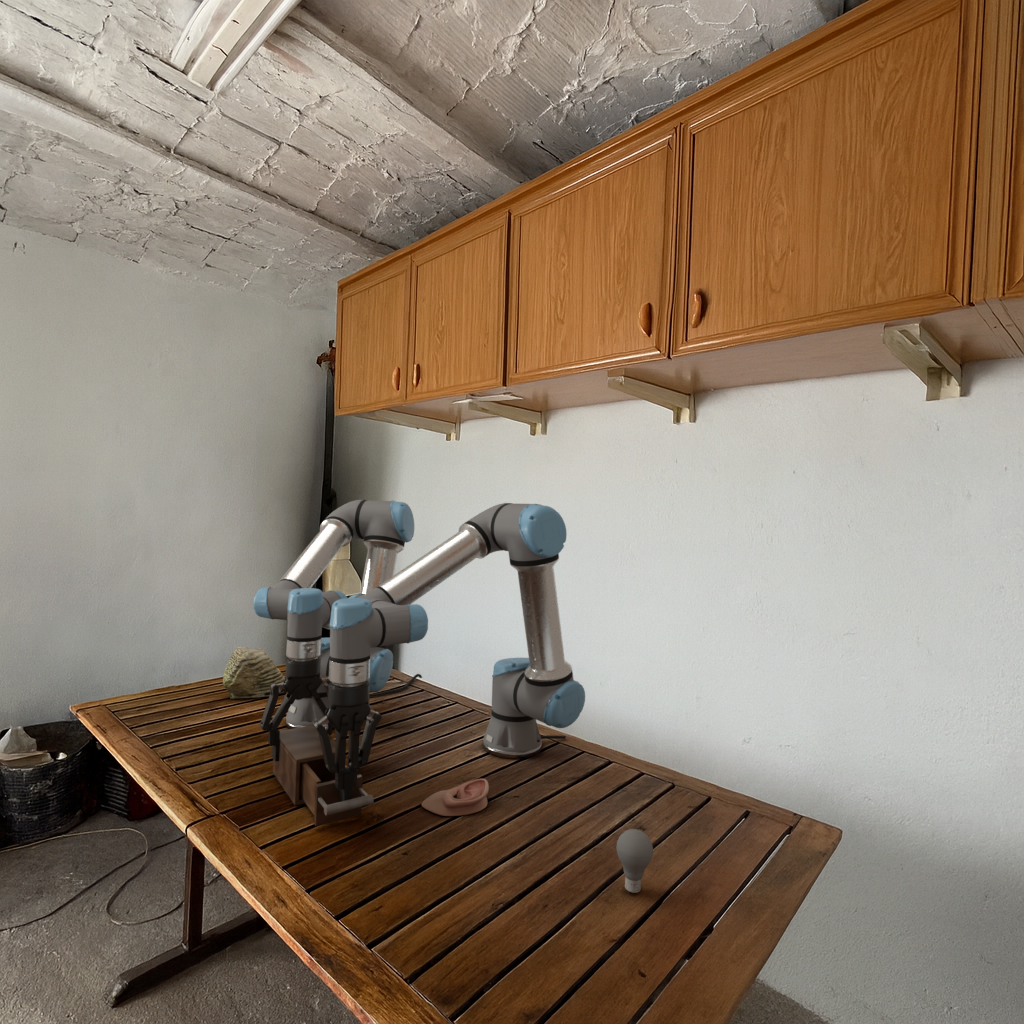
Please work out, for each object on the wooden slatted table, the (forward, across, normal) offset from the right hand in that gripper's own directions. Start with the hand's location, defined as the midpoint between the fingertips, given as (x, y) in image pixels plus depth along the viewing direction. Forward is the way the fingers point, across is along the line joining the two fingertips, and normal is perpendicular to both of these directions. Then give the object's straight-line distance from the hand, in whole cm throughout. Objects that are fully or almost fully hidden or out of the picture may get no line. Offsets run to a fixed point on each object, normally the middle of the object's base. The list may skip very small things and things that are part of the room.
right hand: (345, 804), depth 120 cm
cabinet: (+5, 0, +23) cm, 24 cm away
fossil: (+6, +4, +92) cm, 92 cm away
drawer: (+4, 0, +8) cm, 9 cm away
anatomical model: (+6, +24, -1) cm, 24 cm away
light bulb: (+5, +35, -42) cm, 54 cm away
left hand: (+1, 0, +29) cm, 29 cm away
